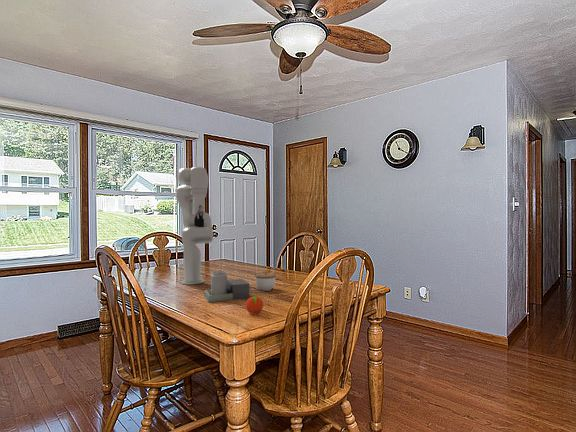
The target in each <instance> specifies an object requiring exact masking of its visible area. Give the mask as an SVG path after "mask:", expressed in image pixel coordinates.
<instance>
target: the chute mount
mask: <svg viewBox="0 0 576 432" xmlns="http://www.w3.org/2000/svg"><path fill="white" fill-rule="evenodd" d="M203 294H204V299H206V301H207V303H217V302H226V301H236V300H245V299H247V300H248V299H249V298H250V283H249V282H248V281H246V280H245V279H243V278H240V279H237V278H236V279H227V294H218V295H211V289H205V290H204V293H203Z"/></svg>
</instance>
